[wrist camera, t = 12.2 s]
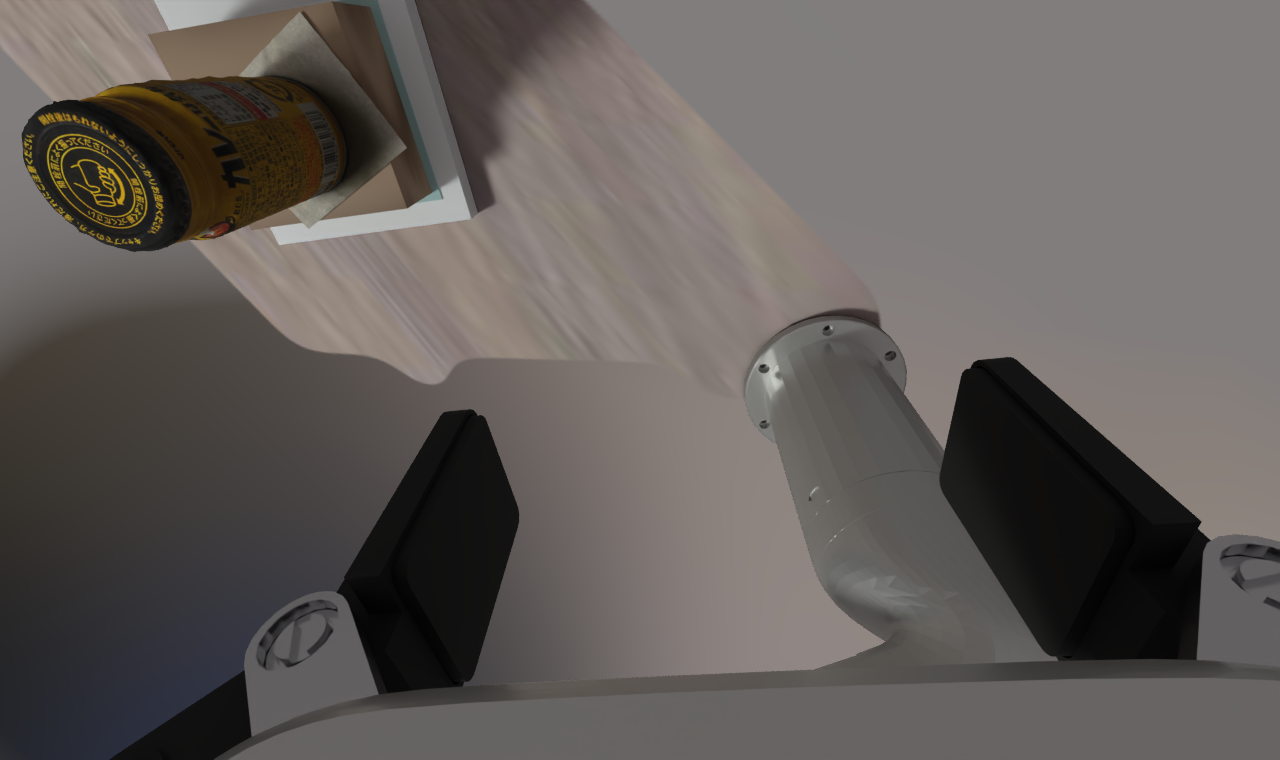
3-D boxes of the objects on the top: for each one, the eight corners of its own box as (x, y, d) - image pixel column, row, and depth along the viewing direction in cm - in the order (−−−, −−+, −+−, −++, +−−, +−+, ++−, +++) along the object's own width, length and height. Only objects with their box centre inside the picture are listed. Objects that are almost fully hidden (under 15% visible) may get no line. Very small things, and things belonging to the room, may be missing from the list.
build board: (477, 213, 36) (470, 219, 35) (291, 238, 38) (278, 245, 36) (402, -42, 29) (389, -46, 28) (174, 1, 30) (152, -1, 29)
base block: (432, 192, 34) (407, 208, 31) (290, 212, 35) (251, 229, 32) (370, 6, 29) (331, 1, 26) (205, 35, 30) (147, 34, 27)
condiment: (202, 114, 29) (-51, 151, 18) (301, 12, 26) (71, -12, 16) (311, 228, 32) (147, 312, 22) (409, 147, 29) (275, 199, 19)
